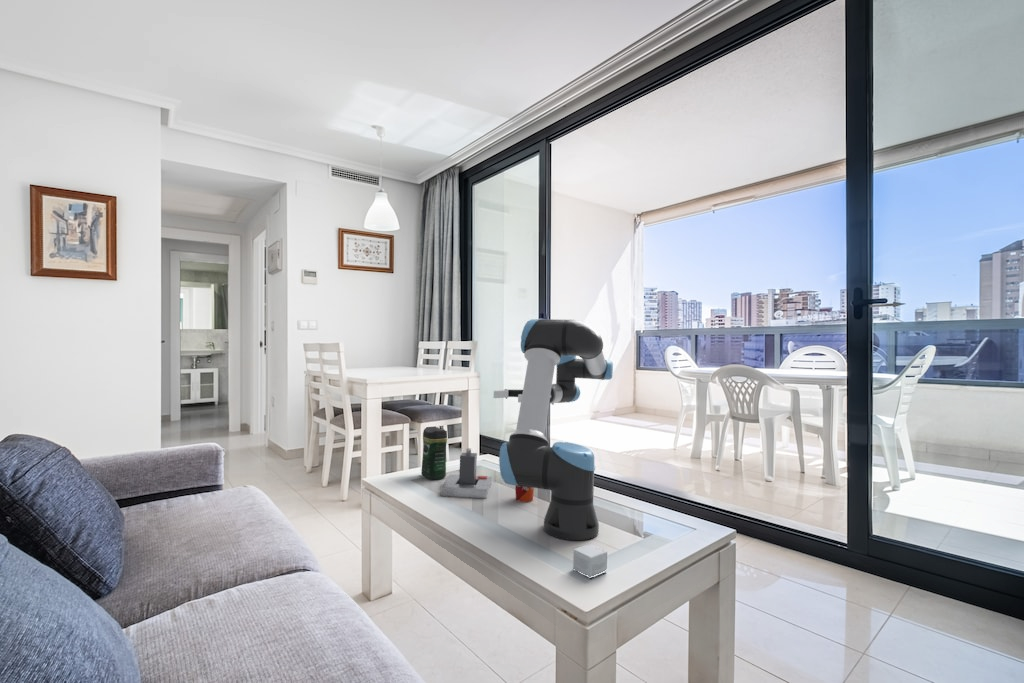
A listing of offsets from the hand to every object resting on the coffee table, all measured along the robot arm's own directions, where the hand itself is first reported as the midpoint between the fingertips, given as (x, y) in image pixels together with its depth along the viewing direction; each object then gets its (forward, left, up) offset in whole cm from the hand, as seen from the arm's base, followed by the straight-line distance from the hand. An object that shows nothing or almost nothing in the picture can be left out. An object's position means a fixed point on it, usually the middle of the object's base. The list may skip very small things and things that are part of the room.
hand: (506, 396), depth 173 cm
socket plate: (-8, +12, -32) cm, 35 cm away
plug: (-8, +12, -32) cm, 35 cm away
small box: (-62, -25, -32) cm, 74 cm away
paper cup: (-14, -8, -32) cm, 36 cm away
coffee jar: (+6, +27, -32) cm, 42 cm away
